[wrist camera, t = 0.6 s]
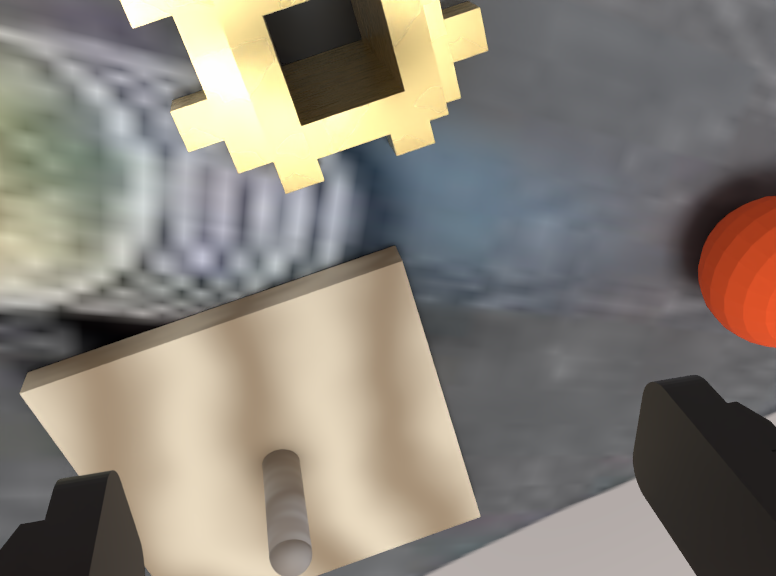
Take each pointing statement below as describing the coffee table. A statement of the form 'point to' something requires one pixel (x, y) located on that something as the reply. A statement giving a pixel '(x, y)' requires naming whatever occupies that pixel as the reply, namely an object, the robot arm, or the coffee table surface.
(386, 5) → the gear
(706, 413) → the robot arm
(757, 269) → the clementine
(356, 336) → the carrier plate
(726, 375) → the coffee table surface
